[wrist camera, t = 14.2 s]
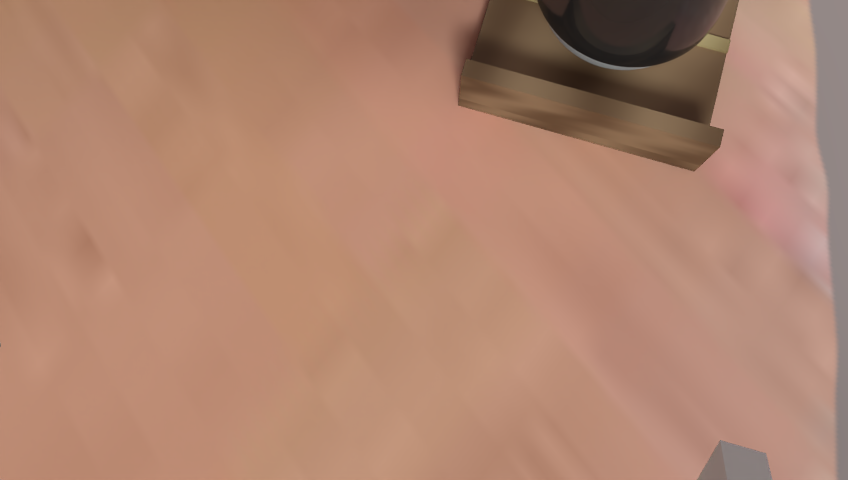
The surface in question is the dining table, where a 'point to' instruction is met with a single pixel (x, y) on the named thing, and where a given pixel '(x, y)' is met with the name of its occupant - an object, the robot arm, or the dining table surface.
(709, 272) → the dining table surface
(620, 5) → the pump dispenser
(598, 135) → the track
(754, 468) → the robot arm
